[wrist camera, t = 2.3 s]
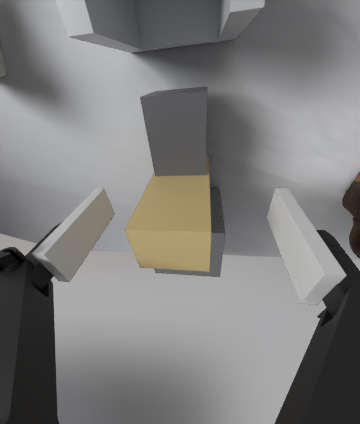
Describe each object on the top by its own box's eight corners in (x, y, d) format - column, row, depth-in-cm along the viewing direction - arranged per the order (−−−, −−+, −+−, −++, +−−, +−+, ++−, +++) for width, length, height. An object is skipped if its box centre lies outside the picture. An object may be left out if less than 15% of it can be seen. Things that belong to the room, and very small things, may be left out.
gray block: (166, 228, 26) (155, 272, 20) (159, 189, 21) (142, 231, 16) (216, 230, 25) (219, 276, 19) (219, 188, 20) (225, 233, 15)
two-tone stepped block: (174, 238, 24) (159, 316, 16) (152, 91, 13) (79, 118, 6) (206, 239, 23) (206, 320, 16) (210, 86, 13) (217, 108, 5)
